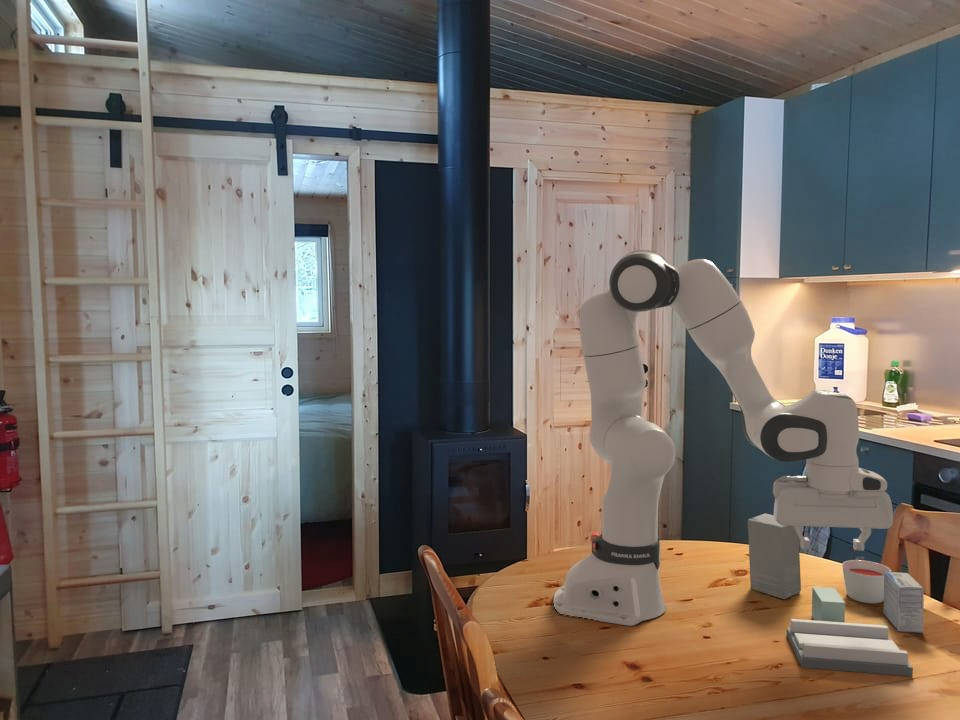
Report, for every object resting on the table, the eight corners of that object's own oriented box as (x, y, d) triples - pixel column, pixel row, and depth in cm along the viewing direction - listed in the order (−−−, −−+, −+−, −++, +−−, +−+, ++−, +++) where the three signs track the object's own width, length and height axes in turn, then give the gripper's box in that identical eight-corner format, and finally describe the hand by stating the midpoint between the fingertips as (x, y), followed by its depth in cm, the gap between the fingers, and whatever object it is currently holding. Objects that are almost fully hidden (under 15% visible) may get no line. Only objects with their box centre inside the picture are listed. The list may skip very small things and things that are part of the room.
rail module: (820, 632, 135) (821, 601, 134) (811, 616, 142) (812, 586, 141) (844, 634, 134) (844, 602, 134) (833, 618, 141) (834, 588, 140)
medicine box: (923, 633, 134) (925, 588, 133) (897, 632, 134) (898, 586, 134) (907, 615, 141) (908, 572, 141) (882, 614, 142) (883, 571, 142)
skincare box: (801, 593, 152) (803, 520, 151) (781, 602, 148) (782, 526, 147) (765, 581, 159) (767, 510, 158) (745, 589, 155) (746, 516, 154)
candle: (864, 586, 156) (865, 557, 155) (900, 602, 147) (901, 572, 147) (831, 592, 153) (832, 563, 153) (866, 609, 145) (867, 578, 144)
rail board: (801, 667, 122) (802, 647, 122) (786, 635, 134) (787, 616, 133) (912, 676, 119) (913, 655, 118) (887, 642, 130) (887, 623, 130)
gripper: (776, 479, 135) (776, 552, 136) (896, 482, 130) (895, 556, 131) (769, 471, 141) (769, 541, 142) (884, 473, 136) (884, 545, 138)
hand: (831, 548), depth 137 cm, fingers open, 8 cm apart
